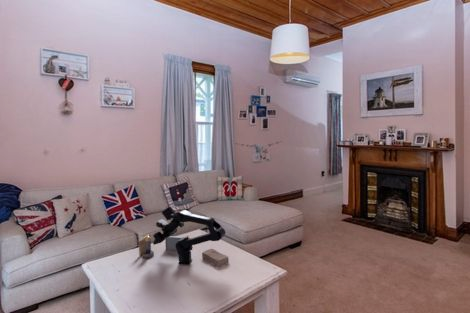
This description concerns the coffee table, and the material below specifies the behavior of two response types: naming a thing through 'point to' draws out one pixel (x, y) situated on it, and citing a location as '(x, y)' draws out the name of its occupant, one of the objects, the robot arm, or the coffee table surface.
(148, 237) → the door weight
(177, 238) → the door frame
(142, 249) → the door
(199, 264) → the coffee table surface
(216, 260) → the brick
